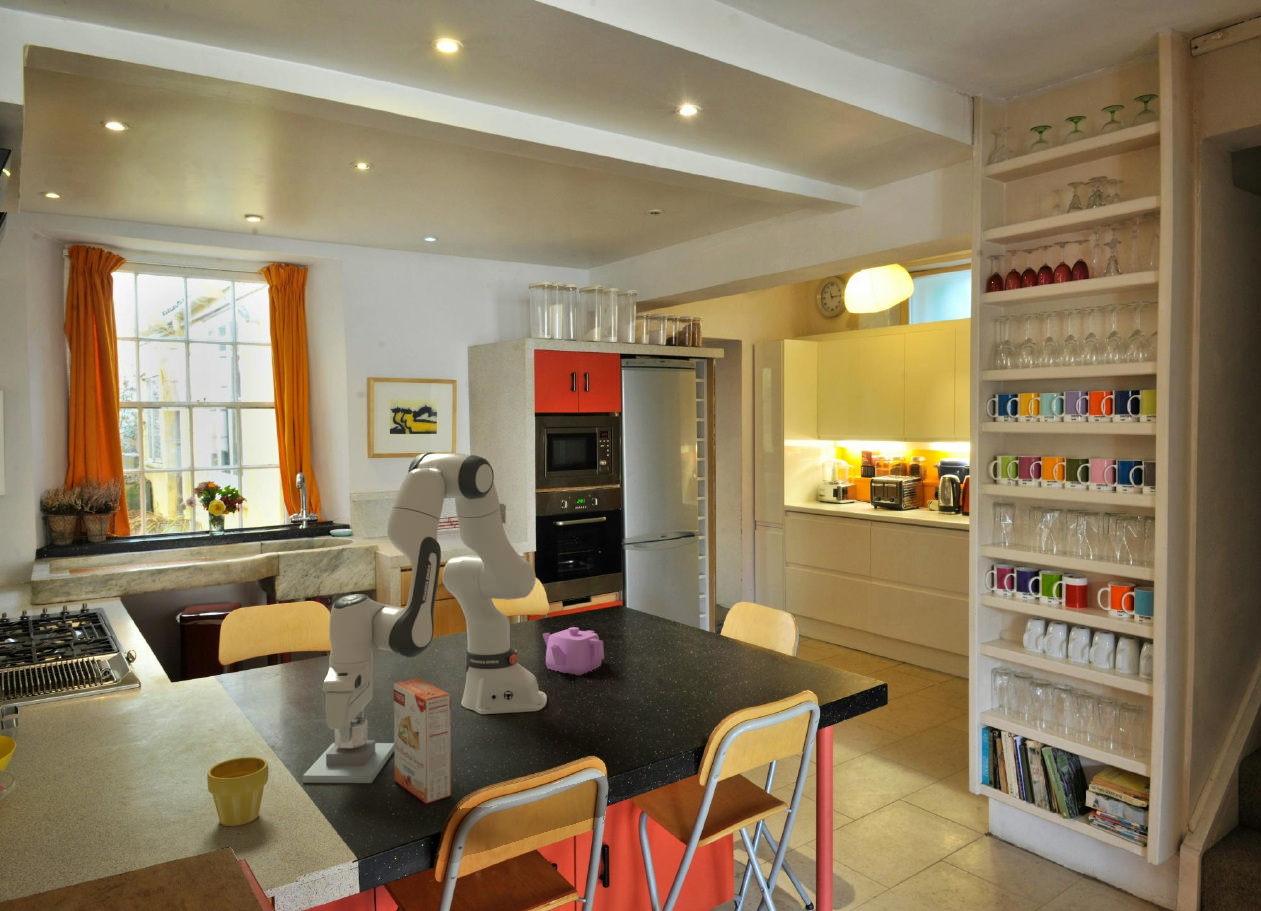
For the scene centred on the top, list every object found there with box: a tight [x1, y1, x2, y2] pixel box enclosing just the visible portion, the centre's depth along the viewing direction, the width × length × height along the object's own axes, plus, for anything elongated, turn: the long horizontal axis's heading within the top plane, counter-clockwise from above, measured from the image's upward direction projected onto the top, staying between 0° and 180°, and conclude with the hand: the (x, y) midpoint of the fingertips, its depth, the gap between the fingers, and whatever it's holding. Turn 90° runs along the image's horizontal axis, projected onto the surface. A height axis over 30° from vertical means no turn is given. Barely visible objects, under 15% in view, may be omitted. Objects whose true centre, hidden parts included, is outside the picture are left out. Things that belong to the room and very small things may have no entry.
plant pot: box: [206, 756, 269, 827], centre depth 159 cm, size 10×10×10 cm
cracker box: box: [393, 677, 452, 804], centre depth 172 cm, size 14×6×21 cm, turn 41°
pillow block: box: [302, 739, 394, 784], centre depth 184 cm, size 14×18×8 cm
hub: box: [334, 717, 368, 748], centre depth 184 cm, size 6×6×4 cm
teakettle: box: [542, 626, 605, 676], centre depth 259 cm, size 17×17×12 cm
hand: (351, 735), depth 184 cm, fingers closed on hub, 6 cm apart
